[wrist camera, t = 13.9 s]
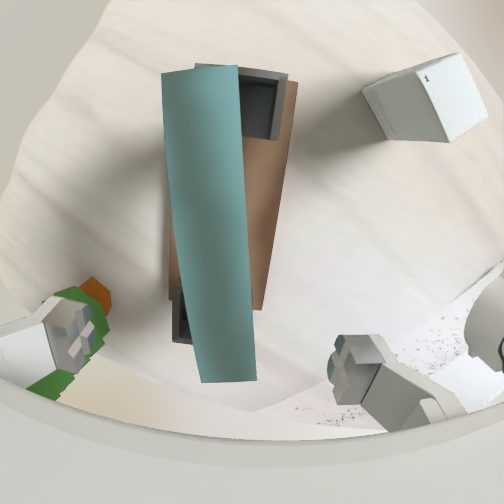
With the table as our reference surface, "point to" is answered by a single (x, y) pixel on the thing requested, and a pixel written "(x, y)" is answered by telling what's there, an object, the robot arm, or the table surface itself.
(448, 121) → the supplement box
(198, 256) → the teal rail
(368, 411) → the robot arm
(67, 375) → the decorative tree
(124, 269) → the table surface
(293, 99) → the bracket stand
